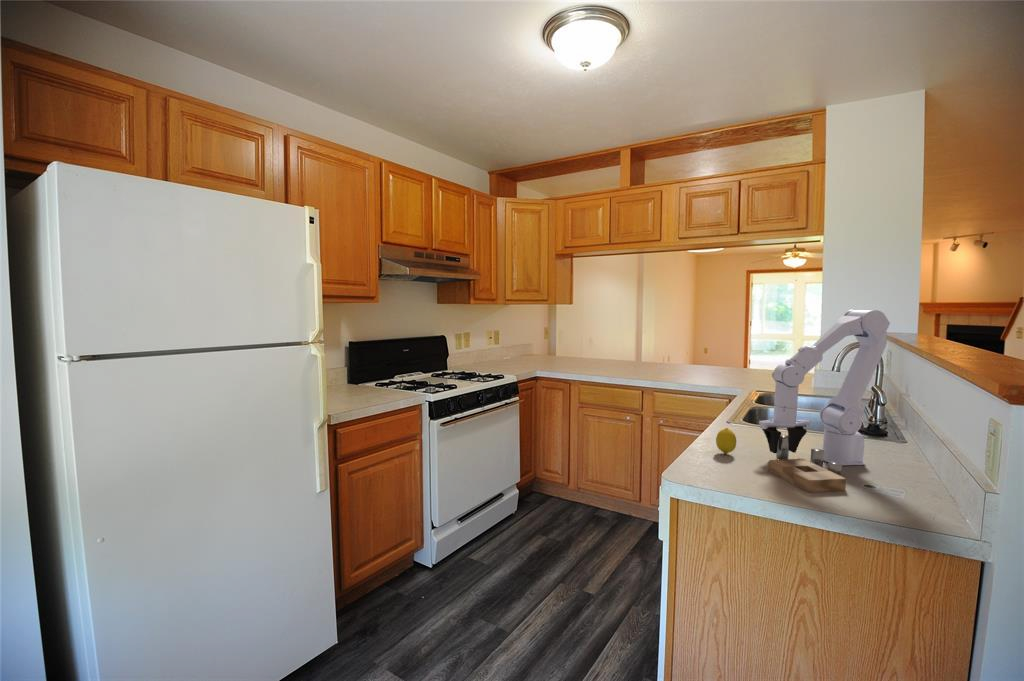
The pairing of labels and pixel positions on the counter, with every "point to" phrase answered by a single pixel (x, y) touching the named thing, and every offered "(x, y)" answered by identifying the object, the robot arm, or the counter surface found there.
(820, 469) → the hole block
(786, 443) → the pin tall
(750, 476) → the counter surface
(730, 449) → the lemon
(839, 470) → the pin short
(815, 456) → the pin medium
